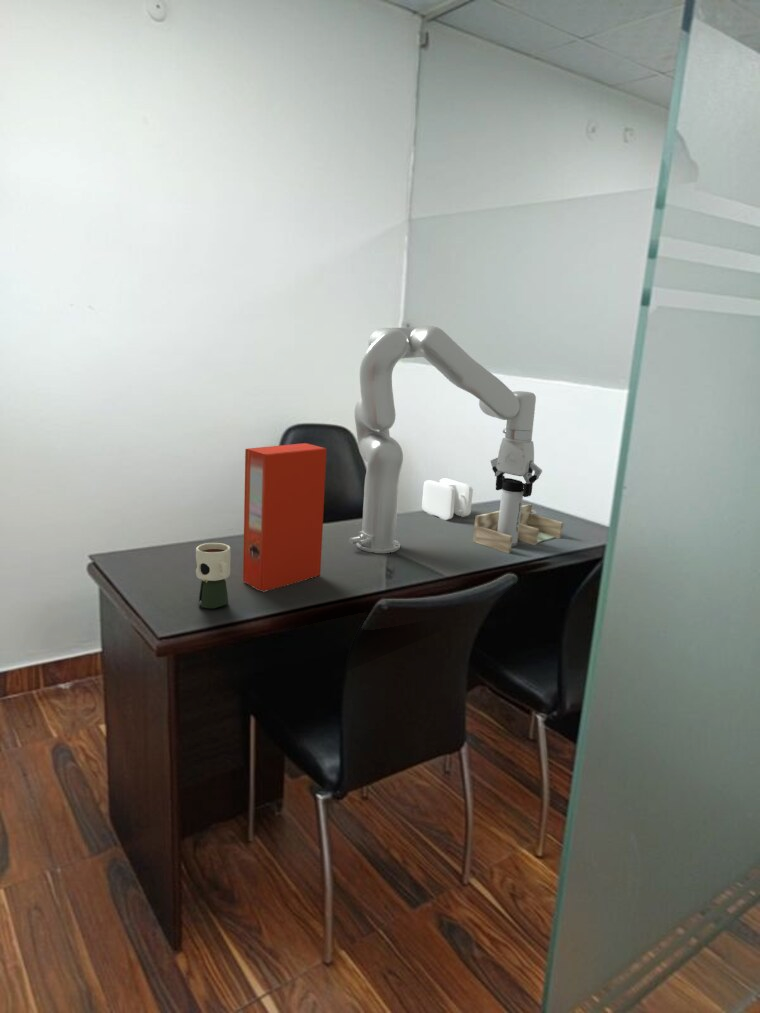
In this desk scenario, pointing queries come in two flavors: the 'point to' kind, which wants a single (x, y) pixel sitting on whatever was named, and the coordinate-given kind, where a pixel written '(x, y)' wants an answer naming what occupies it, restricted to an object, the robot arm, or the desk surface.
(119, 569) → the desk surface
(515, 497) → the travel mug
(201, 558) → the character mug
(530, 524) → the desk dock
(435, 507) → the cable organizer
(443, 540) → the desk surface
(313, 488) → the file binder
